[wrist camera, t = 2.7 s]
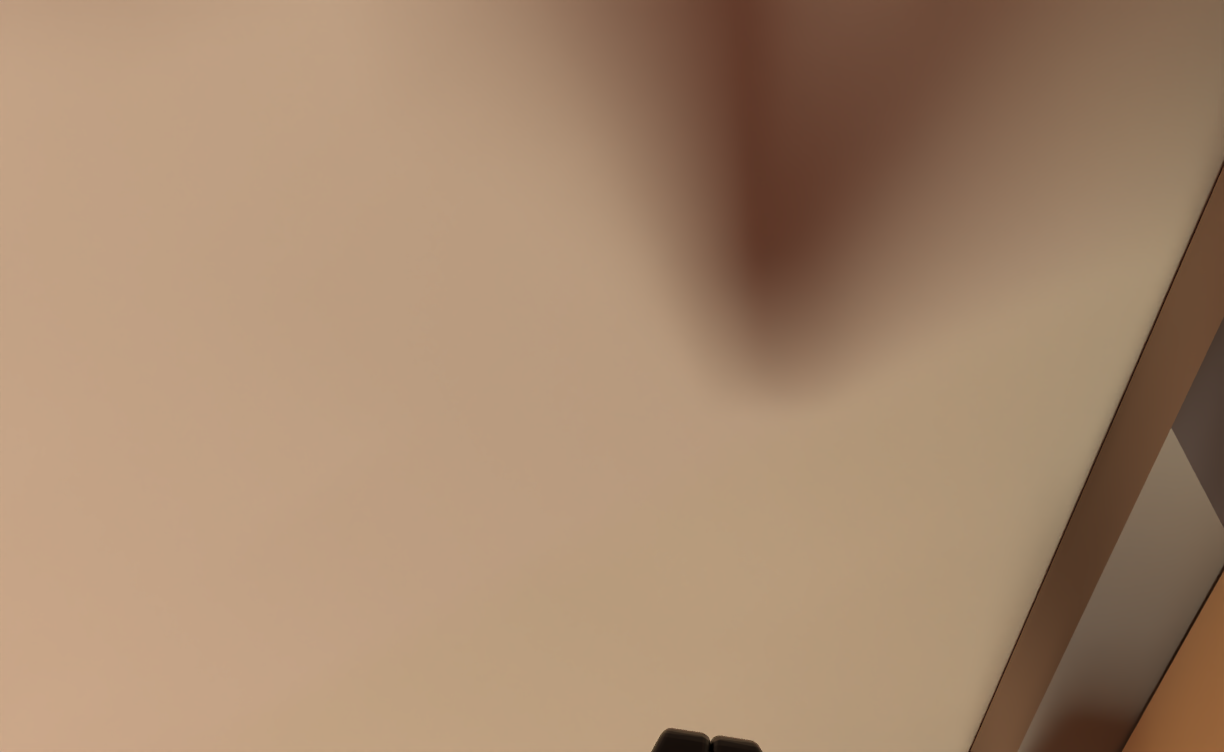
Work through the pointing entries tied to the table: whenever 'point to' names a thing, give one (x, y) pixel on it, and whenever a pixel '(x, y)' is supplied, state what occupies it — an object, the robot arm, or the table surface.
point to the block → (1189, 691)
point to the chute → (1132, 537)
